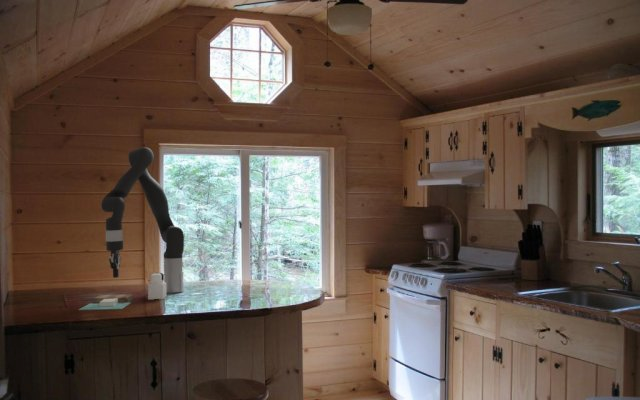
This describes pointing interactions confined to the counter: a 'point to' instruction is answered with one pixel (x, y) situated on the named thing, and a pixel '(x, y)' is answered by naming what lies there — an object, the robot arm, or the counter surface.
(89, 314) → the counter surface
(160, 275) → the medicine bottle
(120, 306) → the mat
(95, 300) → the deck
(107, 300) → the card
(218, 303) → the counter surface
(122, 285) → the counter surface
